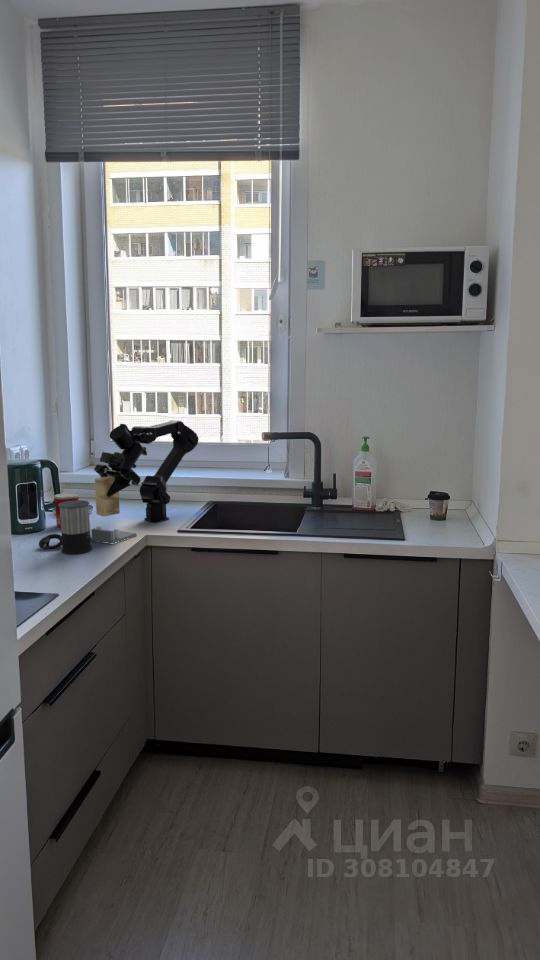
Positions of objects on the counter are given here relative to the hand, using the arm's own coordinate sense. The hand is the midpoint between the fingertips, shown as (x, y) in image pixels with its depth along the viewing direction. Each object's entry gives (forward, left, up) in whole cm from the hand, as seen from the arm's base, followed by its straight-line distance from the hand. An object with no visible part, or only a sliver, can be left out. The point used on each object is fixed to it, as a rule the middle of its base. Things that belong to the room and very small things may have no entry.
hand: (103, 495), depth 245 cm
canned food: (+3, -19, -13) cm, 24 cm away
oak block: (-2, 0, -7) cm, 7 cm away
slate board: (+1, +7, -13) cm, 15 cm away
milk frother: (+19, +7, -13) cm, 24 cm away
